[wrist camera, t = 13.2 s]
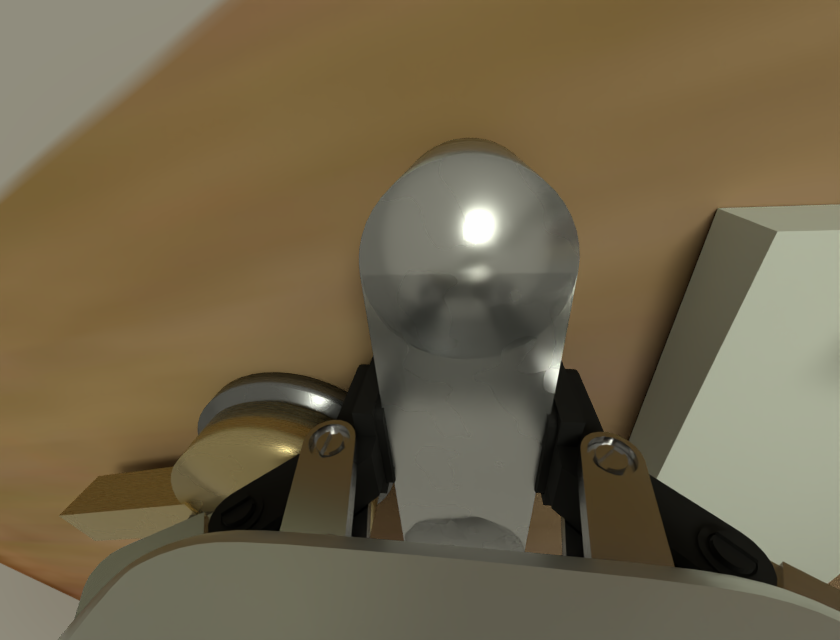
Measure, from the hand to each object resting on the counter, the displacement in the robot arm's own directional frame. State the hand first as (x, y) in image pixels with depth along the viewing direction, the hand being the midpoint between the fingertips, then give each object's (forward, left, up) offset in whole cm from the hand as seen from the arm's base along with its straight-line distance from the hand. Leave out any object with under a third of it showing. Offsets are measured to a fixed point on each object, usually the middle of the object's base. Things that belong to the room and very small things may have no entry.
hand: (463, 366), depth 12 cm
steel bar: (0, 0, 0) cm, 0 cm away
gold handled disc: (+6, -11, +1) cm, 13 cm away
